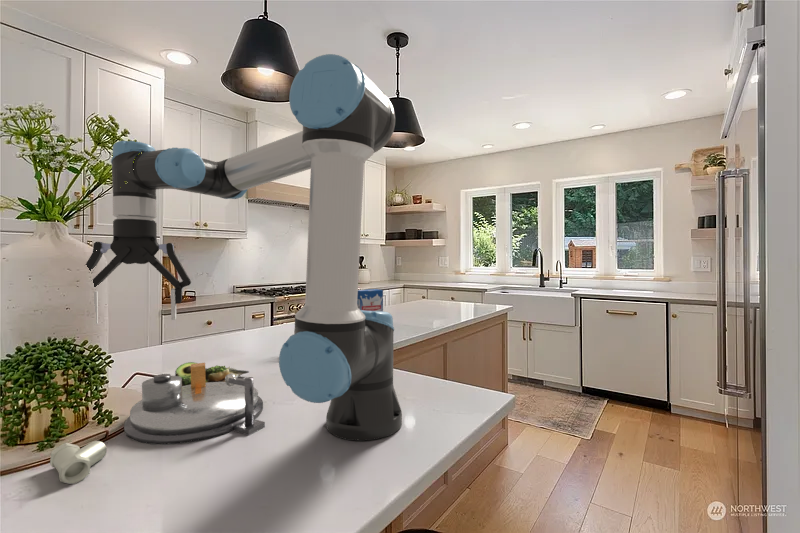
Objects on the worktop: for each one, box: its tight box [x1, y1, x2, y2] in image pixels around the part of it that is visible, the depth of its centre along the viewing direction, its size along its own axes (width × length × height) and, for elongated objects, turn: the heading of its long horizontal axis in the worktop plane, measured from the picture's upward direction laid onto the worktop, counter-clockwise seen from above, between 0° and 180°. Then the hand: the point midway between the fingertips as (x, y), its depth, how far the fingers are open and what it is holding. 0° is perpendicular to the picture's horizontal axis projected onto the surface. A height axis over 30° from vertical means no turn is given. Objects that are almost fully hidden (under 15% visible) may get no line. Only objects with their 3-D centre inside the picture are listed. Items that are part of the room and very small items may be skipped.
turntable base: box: [123, 395, 264, 445], centre depth 85 cm, size 26×26×1 cm
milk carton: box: [357, 288, 384, 312], centre depth 160 cm, size 10×6×20 cm, turn 119°
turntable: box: [129, 362, 259, 435], centre depth 84 cm, size 24×24×7 cm
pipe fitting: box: [49, 440, 108, 485], centre depth 63 cm, size 8×4×7 cm
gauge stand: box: [225, 373, 266, 436], centre depth 79 cm, size 8×4×10 cm, turn 64°
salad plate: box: [174, 361, 250, 386], centre depth 108 cm, size 19×18×5 cm
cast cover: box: [141, 373, 182, 412], centre depth 82 cm, size 7×7×6 cm
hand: (136, 321), depth 83 cm, fingers open, 13 cm apart
